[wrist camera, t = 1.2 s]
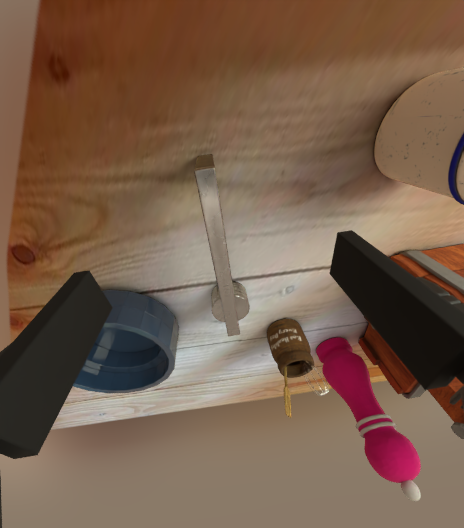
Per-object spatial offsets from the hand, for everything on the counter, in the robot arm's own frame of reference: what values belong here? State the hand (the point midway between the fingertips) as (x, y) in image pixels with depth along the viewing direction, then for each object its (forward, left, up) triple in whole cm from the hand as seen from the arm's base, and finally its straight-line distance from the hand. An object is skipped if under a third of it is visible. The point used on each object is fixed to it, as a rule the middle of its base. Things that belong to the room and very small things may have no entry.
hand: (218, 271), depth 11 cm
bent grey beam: (+6, 0, -13) cm, 14 cm away
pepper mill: (+32, +18, -13) cm, 39 cm away
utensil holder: (+24, +8, -13) cm, 28 cm away
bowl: (+17, -16, -13) cm, 26 cm away
